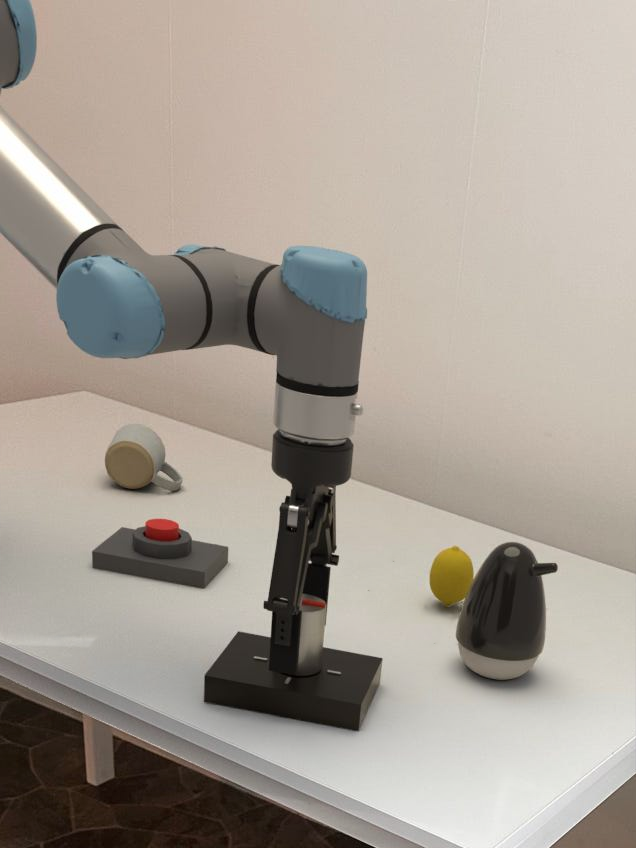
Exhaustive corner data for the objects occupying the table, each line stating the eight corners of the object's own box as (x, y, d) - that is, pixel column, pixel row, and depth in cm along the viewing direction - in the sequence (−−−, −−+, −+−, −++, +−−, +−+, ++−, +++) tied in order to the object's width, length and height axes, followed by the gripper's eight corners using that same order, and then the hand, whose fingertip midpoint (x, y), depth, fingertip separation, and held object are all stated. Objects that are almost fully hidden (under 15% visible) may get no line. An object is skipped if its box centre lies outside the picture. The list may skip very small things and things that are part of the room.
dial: (267, 671, 121) (271, 603, 117) (279, 652, 125) (283, 586, 121) (315, 679, 121) (320, 612, 117) (325, 660, 125) (331, 595, 121)
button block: (92, 568, 144) (91, 536, 142) (122, 543, 153) (121, 513, 151) (204, 589, 144) (205, 557, 142) (228, 563, 153) (229, 532, 150)
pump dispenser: (514, 699, 131) (538, 567, 123) (434, 669, 135) (453, 539, 127) (554, 672, 139) (579, 547, 131) (477, 644, 143) (497, 520, 134)
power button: (140, 539, 145) (140, 525, 144) (151, 530, 148) (151, 516, 147) (172, 545, 145) (172, 531, 144) (183, 535, 148) (183, 522, 147)
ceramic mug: (102, 488, 169) (102, 433, 165) (113, 471, 176) (113, 419, 172) (177, 498, 171) (179, 445, 167) (185, 482, 178) (187, 430, 174)
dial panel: (203, 702, 120) (204, 673, 118) (237, 656, 130) (238, 629, 128) (358, 731, 119) (361, 703, 118) (379, 683, 130) (383, 656, 128)
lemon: (452, 596, 155) (460, 537, 150) (477, 612, 151) (486, 552, 147) (417, 600, 152) (425, 540, 147) (441, 617, 148) (450, 555, 144)
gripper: (325, 474, 100) (307, 702, 111) (376, 413, 120) (357, 611, 132) (238, 458, 100) (229, 688, 111) (304, 400, 121) (291, 599, 132)
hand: (298, 646), depth 122 cm, fingers open, 12 cm apart
